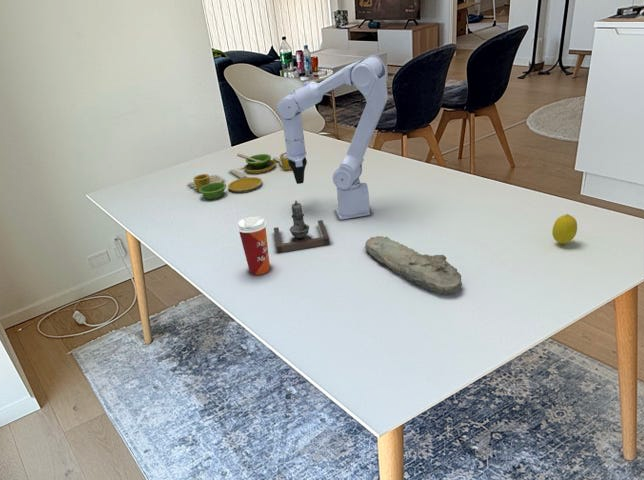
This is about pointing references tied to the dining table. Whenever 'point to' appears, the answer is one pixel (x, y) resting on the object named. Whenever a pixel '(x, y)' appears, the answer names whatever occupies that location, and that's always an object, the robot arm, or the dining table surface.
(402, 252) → the elongated rock
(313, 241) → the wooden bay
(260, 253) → the paper cup
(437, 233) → the dining table surface
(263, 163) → the tableware set
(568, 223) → the lemon
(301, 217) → the salt shaker
